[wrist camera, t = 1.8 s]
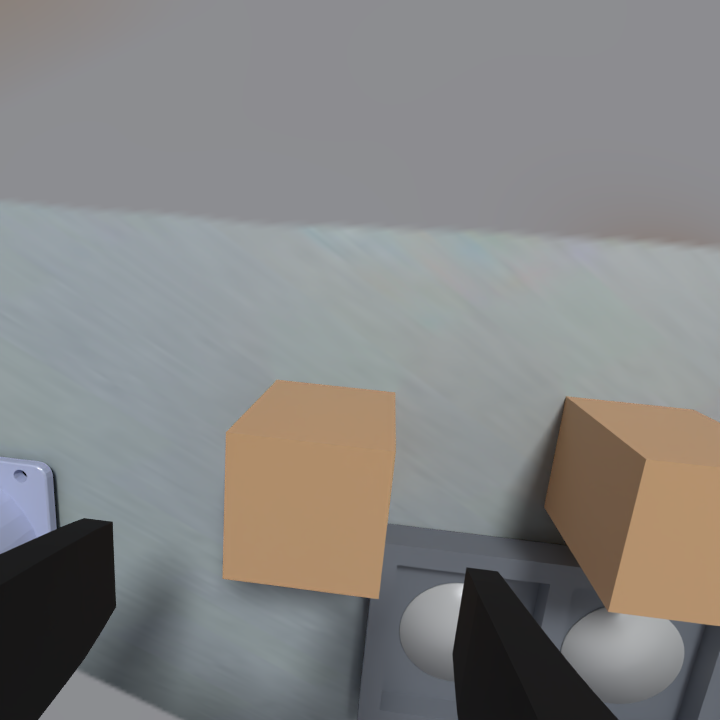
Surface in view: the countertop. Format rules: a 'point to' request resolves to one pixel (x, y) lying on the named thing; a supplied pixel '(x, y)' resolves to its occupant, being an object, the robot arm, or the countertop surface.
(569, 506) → the block
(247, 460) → the block
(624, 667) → the tray
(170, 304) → the countertop surface
